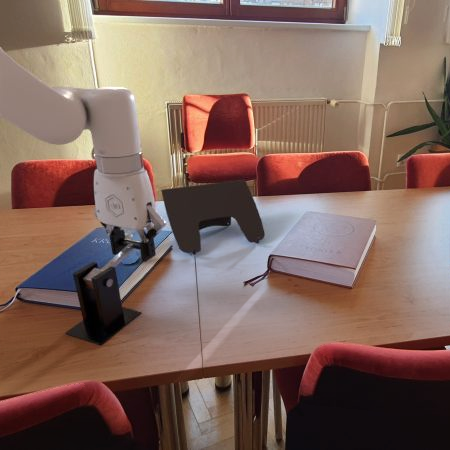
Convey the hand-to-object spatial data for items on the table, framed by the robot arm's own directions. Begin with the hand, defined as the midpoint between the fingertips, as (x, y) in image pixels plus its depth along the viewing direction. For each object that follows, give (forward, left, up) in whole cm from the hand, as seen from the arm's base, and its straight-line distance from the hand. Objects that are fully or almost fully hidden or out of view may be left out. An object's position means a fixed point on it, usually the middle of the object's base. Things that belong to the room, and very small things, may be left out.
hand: (134, 254), depth 83 cm
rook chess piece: (-12, +11, -10) cm, 19 cm away
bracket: (0, -9, -10) cm, 14 cm away
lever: (0, -5, 0) cm, 5 cm away
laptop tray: (-2, +32, -10) cm, 33 cm away
